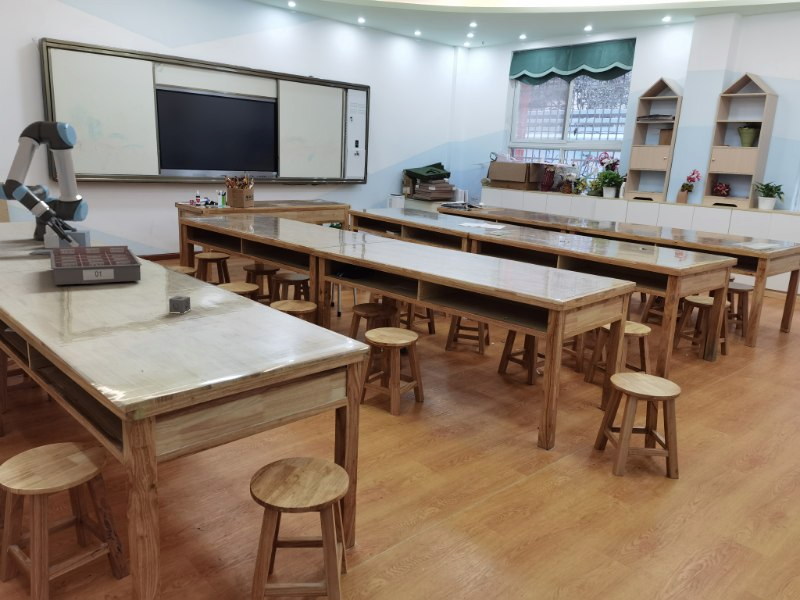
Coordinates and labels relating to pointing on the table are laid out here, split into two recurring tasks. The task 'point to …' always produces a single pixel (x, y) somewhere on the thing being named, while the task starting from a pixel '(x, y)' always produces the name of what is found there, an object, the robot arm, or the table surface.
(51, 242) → the medicine bottle
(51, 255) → the organizer tray
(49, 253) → the mat
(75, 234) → the cover
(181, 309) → the dice cube
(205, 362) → the table surface
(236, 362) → the table surface
